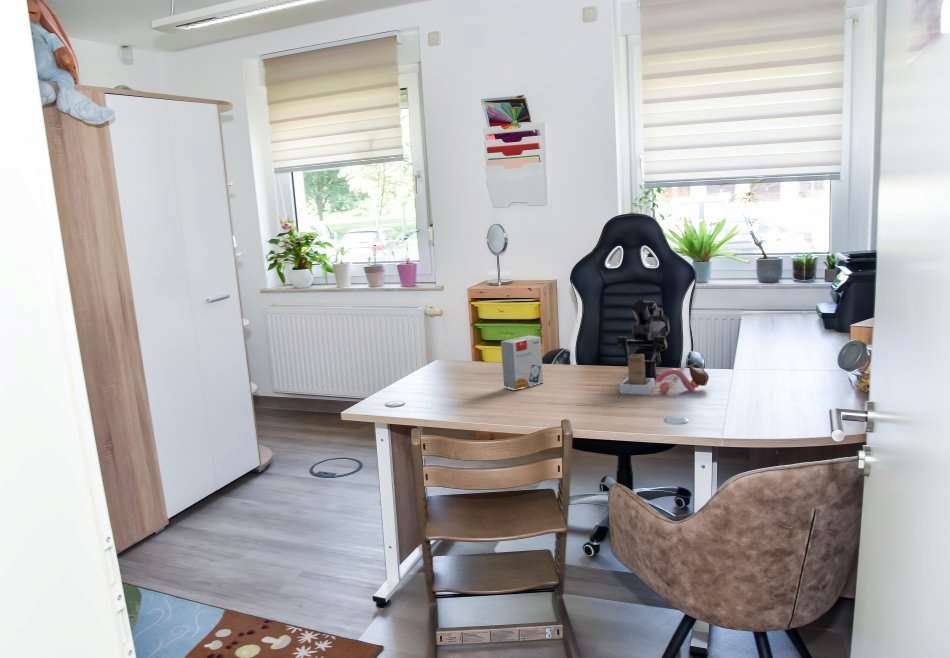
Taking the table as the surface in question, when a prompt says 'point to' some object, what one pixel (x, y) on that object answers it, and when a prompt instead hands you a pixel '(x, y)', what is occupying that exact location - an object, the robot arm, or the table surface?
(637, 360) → the walnut block
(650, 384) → the bin
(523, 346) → the hard drive box
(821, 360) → the table surface
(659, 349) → the robot arm
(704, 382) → the anatomy model
